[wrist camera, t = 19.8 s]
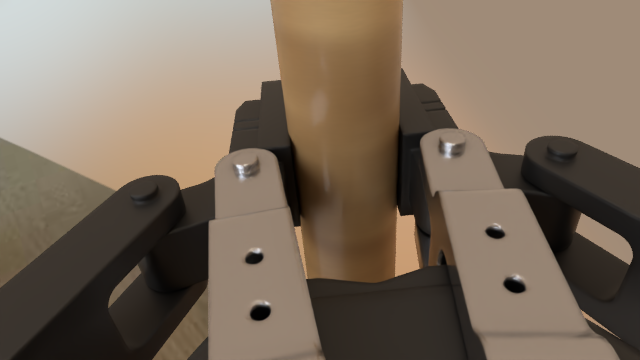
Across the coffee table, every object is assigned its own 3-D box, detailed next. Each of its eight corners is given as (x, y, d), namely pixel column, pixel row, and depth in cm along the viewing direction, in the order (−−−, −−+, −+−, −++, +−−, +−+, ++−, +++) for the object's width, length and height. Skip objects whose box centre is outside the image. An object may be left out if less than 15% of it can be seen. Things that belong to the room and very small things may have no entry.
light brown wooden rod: (401, 426, 20) (435, -145, 8) (390, 504, 18) (414, -133, 6) (334, 409, 21) (274, -132, 9) (315, 482, 18) (199, -117, 7)
